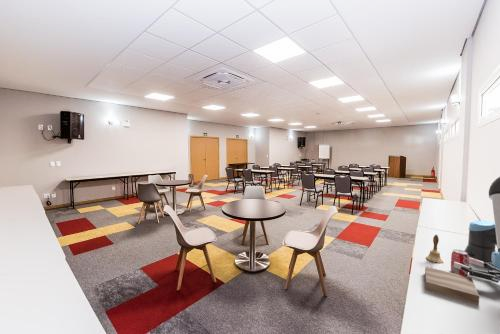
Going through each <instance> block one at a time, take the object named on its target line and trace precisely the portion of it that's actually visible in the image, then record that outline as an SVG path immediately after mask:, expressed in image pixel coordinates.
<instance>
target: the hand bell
mask: <svg viewBox="0 0 500 334" xmlns="http://www.w3.org/2000/svg"><path fill="white" fill-rule="evenodd" d="M432 241H433V242H432V243H433V249H431V250H430V251H429V253H428V255H427V256H426V257H425V259H426V260H427V259H428V260H427V261H429V260H430V261H429V262H431V261H433V262H432V263H434V262H437V263H436V264H443V263H444V260H443V259H442V258H441V253H440V251H438V245H439V236H438V234H434V236H433V237H432Z"/></svg>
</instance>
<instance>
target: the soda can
mask: <svg viewBox="0 0 500 334" xmlns="http://www.w3.org/2000/svg"><path fill="white" fill-rule="evenodd" d="M450 260H451V261H450V270H451V272H452V273H455V274H459V275H463V276H467V275H469V272H466V271H463V270H461V269H458V268H455V267H454V262H457V263H460V264H463V265H465V266H468V267H470V266H469V265H470V263H469V256H468V253H467V252H465V251H464V250H462V249H453V251H451V256H450Z"/></svg>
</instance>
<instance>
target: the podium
mask: <svg viewBox="0 0 500 334" xmlns="http://www.w3.org/2000/svg"><path fill="white" fill-rule="evenodd" d="M424 276H425V278H424V281H425V290H426V291H429V292H432V291H433V292H432V293H435V294H439V295H443V296H447V297H450V298H453V299H457V300H461V301H464V302H468V303H471V304H475V305H477V306H478V305H480V294H479V292H478V290H477V288H476V285H475V282H474V280H473V278H472V276H471V277H470V276H467V275H459V274H456V273H454V272H452V271H445V270H442V269H437V268H433V267H429V266H425V267H424Z"/></svg>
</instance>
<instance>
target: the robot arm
mask: <svg viewBox="0 0 500 334" xmlns="http://www.w3.org/2000/svg"><path fill="white" fill-rule="evenodd" d="M488 198H489V200H492V201H491V202H492V203H491V204H492V209H493V210H492V211H493V219H494V220H493V221H487V220H475V221H474V220H473V221H471V222H470V223H469V225H468V242H467V245H466V247H465V249H464V250H463V251H465V252H467V253H468V256H469V264H473V265H475V266H478V267H481V268H484V269H487V270H483V269H476V268H472V267H471V266H469V267H468V266H465V265H463V264H460V263H457V262H454V267H455V268H458V269H461V270H463V271H466V272H468V275H469V276H471V277H475V278H480V279H482V280H483V279H484V280H487V281H491V282H494V283H498V284H499V282H500V176H498V177H497V178H496V179H494V181H492V183H491V185H490V186H489V190H488ZM496 246H497V247H496ZM496 248H497V251H496Z"/></svg>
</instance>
